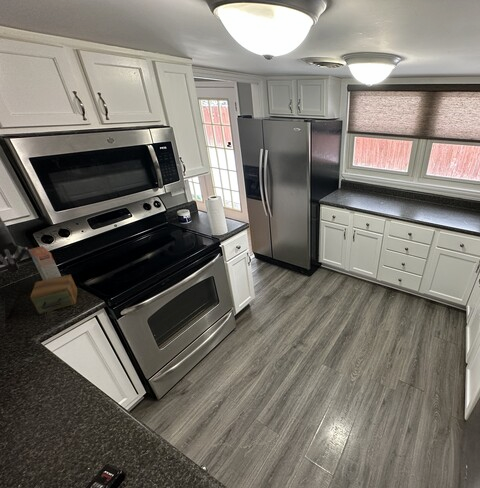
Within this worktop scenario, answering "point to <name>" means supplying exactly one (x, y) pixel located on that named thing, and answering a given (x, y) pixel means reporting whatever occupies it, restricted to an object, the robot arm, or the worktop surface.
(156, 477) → the worktop surface
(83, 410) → the worktop surface
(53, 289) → the cabinet
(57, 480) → the worktop surface
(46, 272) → the cracker box
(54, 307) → the drawer
